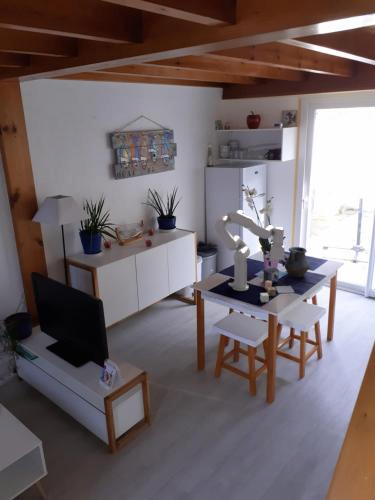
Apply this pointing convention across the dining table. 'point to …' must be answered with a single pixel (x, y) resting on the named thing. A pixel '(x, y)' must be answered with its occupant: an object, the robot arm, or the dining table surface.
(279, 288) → the grey mat
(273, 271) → the small box
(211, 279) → the dining table surface
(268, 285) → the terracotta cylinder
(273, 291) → the walnut block
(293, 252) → the pitcher
